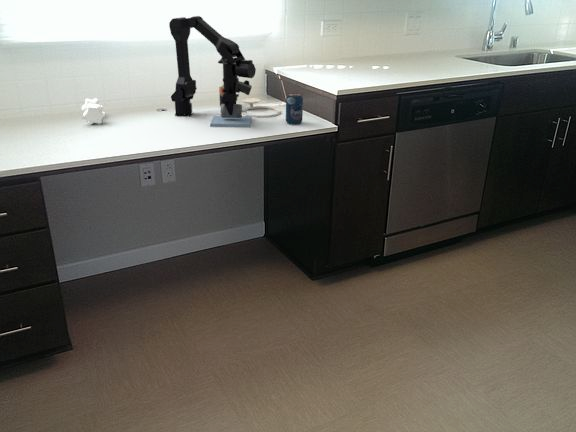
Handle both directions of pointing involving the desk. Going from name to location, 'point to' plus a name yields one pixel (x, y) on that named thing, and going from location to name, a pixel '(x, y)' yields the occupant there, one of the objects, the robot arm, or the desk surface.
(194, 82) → the robot arm
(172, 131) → the desk surface
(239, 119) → the pad
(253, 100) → the hand towel holder
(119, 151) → the desk surface
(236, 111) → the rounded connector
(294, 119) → the soda can
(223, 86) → the battery
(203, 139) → the desk surface
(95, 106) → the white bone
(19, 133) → the desk surface
